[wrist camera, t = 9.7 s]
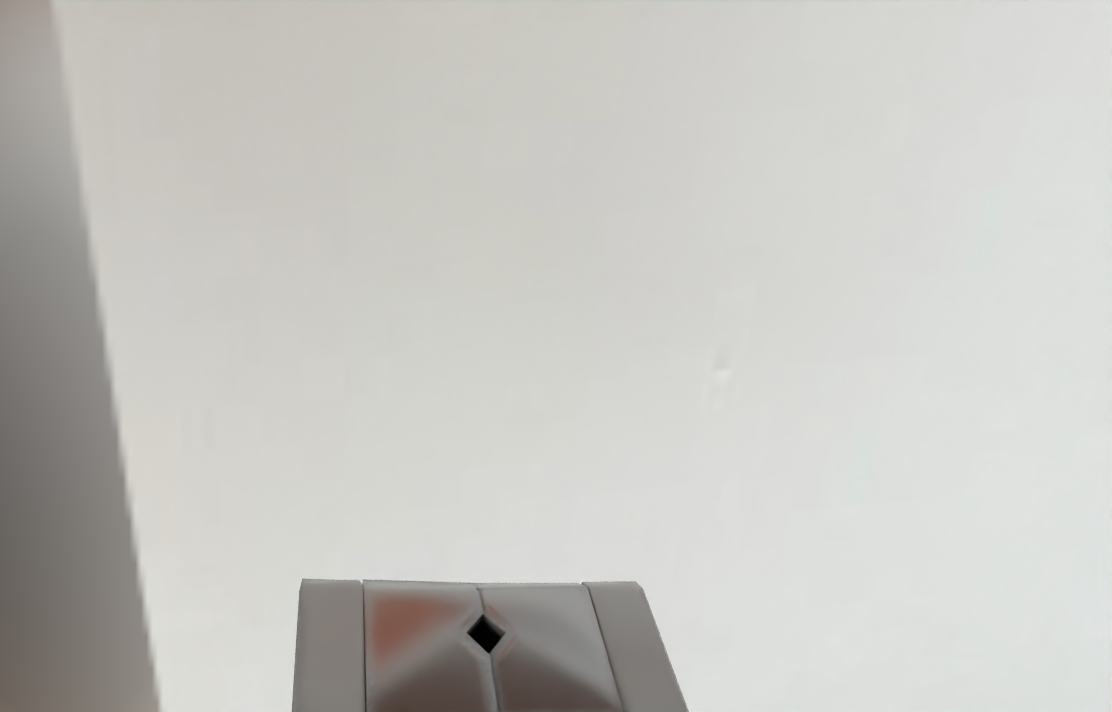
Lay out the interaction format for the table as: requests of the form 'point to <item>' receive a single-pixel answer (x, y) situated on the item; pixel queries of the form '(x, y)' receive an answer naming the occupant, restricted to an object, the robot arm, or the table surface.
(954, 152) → the table surface
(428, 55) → the table surface
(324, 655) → the robot arm
